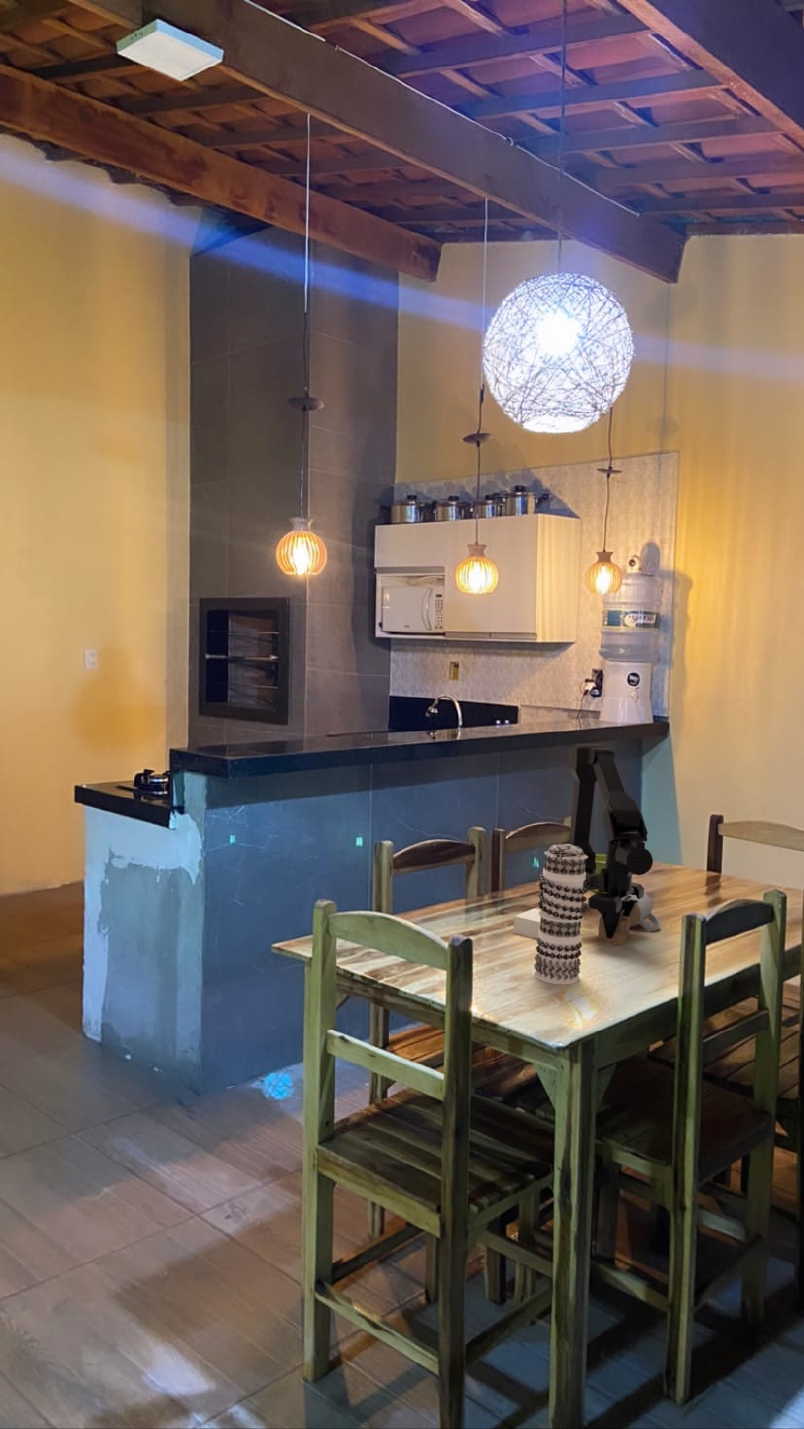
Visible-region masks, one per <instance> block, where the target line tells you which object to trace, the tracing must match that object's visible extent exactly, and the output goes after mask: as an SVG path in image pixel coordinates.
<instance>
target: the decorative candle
mask: <svg viewBox="0 0 804 1429" xmlns="http://www.w3.org/2000/svg"><path fill="white" fill-rule="evenodd" d="M543 853H544V867H543V869H542V872H541V873H540V874H539V875H538V879H539V880H540V881H539V883H538V888H539V890H540V892H539V894H537V896H538V898H539V901H538V904H537V905H538V909H539V910H540V911H539V916H540V917H541V920H540V929H539V934H538V938H537V939H536V938H535V939H536V944H537V946H536V947H535V950H536V951H535V952H537V954H535V956H534V961H535V963H534V966H533V967H534V969H535V970H534V973H533V975H534V977H535V979H537V980H539V981H542V982H544V983H547V984H554V985H563V986H565V985H573V983H574V984H576V983H578V982H579V981H580V975H579V974H580V973H581V970H580V969H581V968H580V966H581V964H582V963H581V960H580V958H579V957H580V956H582V952H581V951H582V950H581V948H582V947H583V945H582V942H581V940H582V938H581V937H582V933H581V927H582V926H581V925H582V924H581V922H582V921H583V920H584V919H585V917H584V914H582V913H584V912H585V911H586V907H583V905H582V902H583V903H586V901H588V899H587V897H586V896H585V894H587V893H588V892H589V891H588V890H587V889H586V888H584V887H583V881H584V884H586V883H588V882H589V879H587V878H586V877H585V876H586V872H585V860H586V858H587V857H588V856H587V855H585V854H584V852H583V850H582V849H581V848H580V847H578V846H575V845H569V844H565V843H556V844H552V845H551V846H550V847H549V849H548V850H545V851H544V852H543ZM582 894H583V895H582ZM578 980H579V981H578ZM575 982H576V983H575Z"/></svg>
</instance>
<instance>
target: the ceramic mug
mask: <svg viewBox="0 0 804 1429" xmlns="http://www.w3.org/2000/svg"><path fill="white" fill-rule="evenodd" d="M630 896H632V900H637V901H638V903H637V904H636V906H635V908H634V910H633V911H632V913H631V915H630V927H629V928H633V927H636V926H638V925H639V926H640V927H642V928H644V929H646V930H649V931H652V932H655V931H657V930H658V929H660V926H661V922H660V920H659V918H657V916H656V915H654V913H652V910H653V903H652V900H651V898H650V897H649V895H648V894H647V893H646V892H644V896H643V897H642V898H641V899H637V897H636V895H630ZM646 920H649V921H650V922H652V923H653V924H652V923H650V922H648V921H646Z"/></svg>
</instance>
